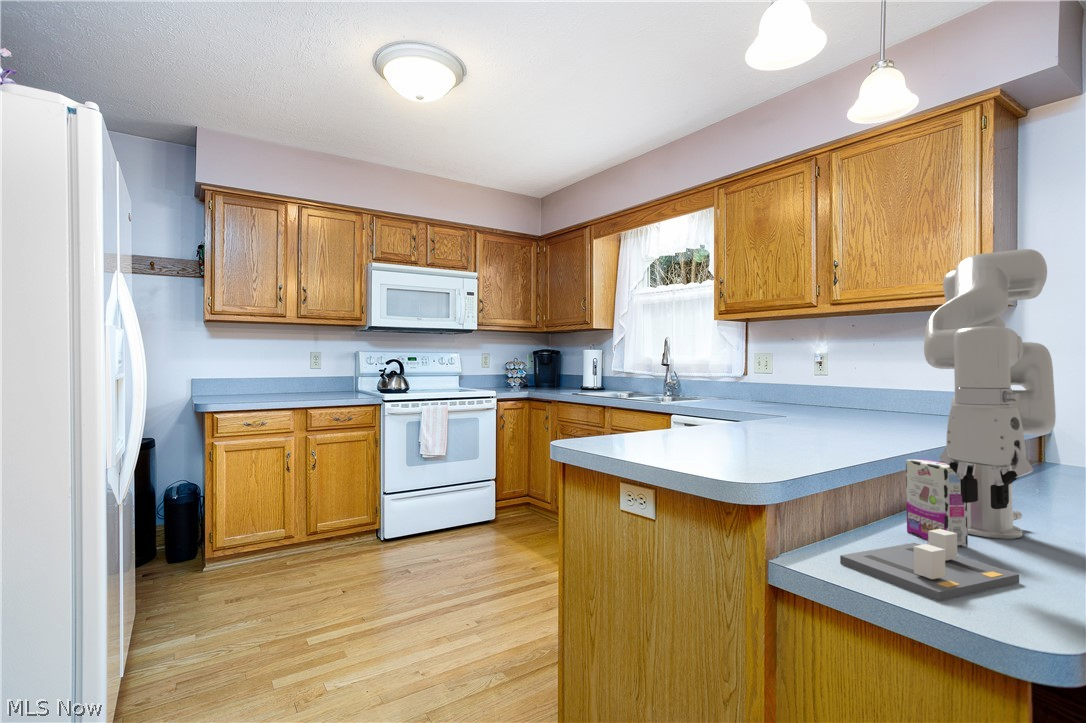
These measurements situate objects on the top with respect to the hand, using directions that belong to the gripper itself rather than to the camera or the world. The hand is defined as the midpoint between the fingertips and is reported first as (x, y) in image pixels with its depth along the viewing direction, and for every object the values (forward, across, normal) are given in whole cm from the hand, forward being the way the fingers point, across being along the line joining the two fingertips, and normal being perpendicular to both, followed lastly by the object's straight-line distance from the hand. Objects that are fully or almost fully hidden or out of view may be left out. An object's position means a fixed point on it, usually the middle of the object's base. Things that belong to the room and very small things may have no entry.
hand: (984, 503), depth 93 cm
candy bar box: (+13, +18, -16) cm, 28 cm away
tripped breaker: (+11, +7, 0) cm, 13 cm away
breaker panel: (+13, +6, +6) cm, 16 cm away
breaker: (+11, +2, +11) cm, 16 cm away
